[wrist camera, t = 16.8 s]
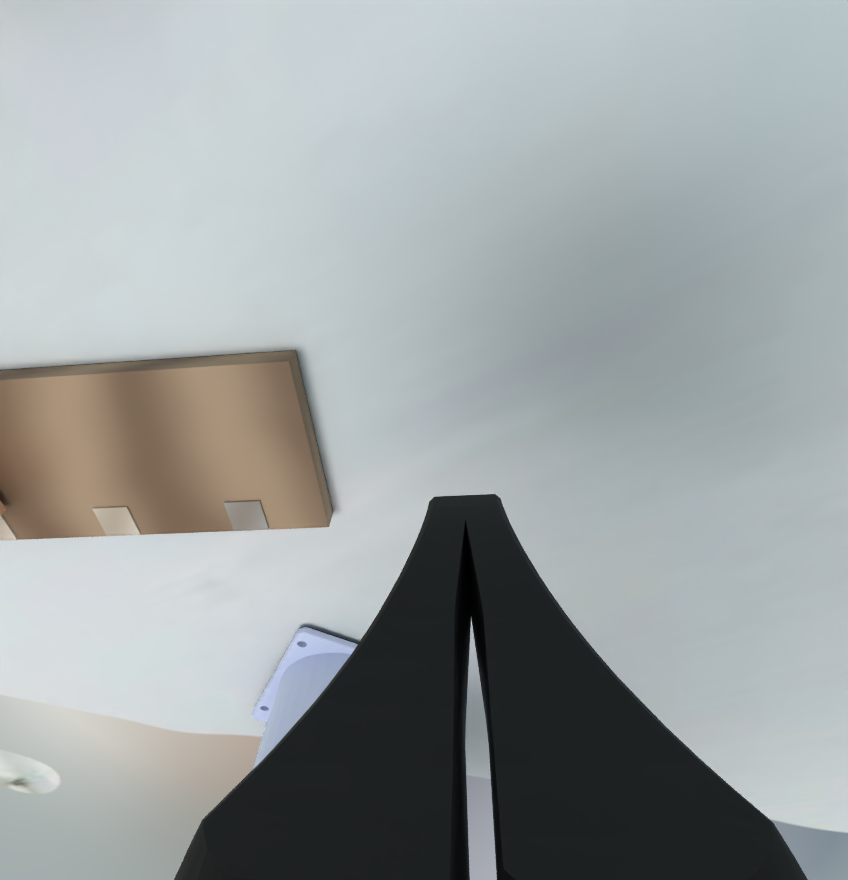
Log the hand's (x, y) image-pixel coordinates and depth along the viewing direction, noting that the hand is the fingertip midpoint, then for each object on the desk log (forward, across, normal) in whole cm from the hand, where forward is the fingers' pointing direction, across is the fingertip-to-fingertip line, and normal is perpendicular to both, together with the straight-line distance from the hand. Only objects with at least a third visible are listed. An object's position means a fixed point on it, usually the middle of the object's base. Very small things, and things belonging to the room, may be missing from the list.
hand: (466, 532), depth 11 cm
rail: (+10, +19, +4) cm, 22 cm away
